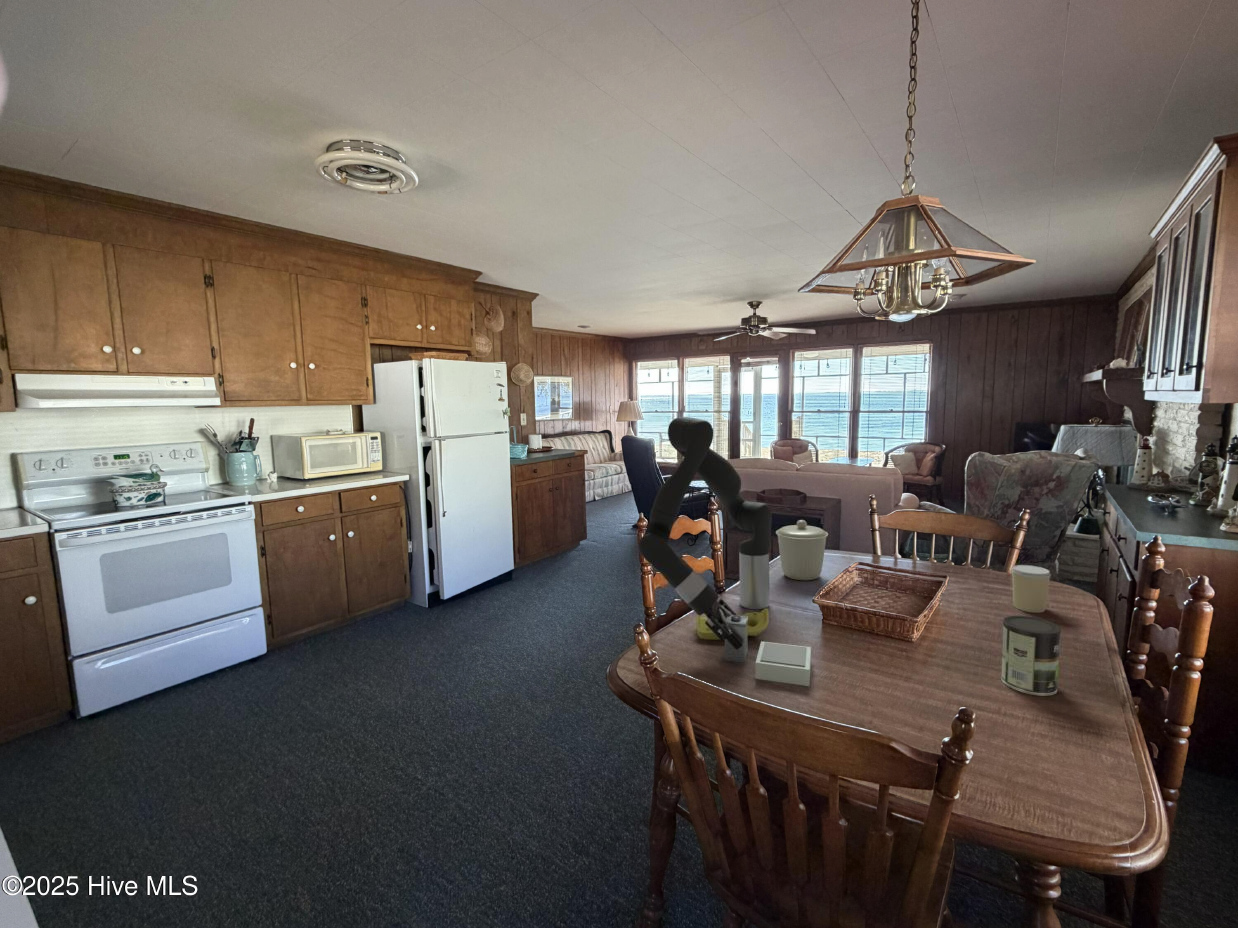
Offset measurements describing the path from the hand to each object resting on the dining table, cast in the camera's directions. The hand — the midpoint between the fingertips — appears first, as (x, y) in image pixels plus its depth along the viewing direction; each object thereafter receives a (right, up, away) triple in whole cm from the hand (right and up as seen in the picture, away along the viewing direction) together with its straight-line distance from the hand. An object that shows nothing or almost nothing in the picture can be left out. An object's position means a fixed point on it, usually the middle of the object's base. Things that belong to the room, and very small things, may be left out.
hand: (742, 640), depth 140 cm
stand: (+9, -5, -7) cm, 12 cm away
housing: (-1, -4, +1) cm, 5 cm away
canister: (+36, +3, +62) cm, 72 cm away
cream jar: (+93, +1, +26) cm, 96 cm away
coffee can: (+60, -5, -17) cm, 63 cm away
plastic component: (0, -3, +15) cm, 15 cm away
